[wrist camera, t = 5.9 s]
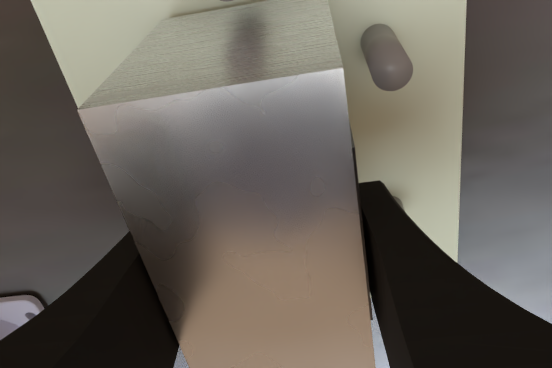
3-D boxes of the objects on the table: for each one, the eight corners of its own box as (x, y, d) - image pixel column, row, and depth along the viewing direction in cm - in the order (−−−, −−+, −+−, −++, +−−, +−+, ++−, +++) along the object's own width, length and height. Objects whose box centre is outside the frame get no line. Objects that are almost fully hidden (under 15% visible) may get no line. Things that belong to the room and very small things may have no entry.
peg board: (449, 272, 20) (475, 341, 17) (174, 300, 21) (155, 367, 19) (460, -165, 12) (513, -176, 9) (19, -71, 13) (-58, -54, 11)
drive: (358, 249, 17) (383, 403, 12) (235, 262, 18) (210, 415, 13) (328, -11, 13) (349, 66, 7) (161, 19, 13) (76, 110, 8)
